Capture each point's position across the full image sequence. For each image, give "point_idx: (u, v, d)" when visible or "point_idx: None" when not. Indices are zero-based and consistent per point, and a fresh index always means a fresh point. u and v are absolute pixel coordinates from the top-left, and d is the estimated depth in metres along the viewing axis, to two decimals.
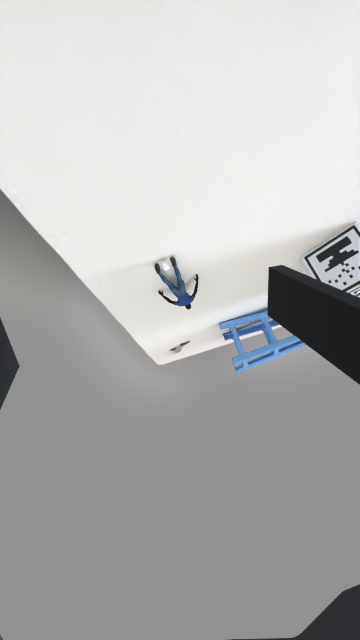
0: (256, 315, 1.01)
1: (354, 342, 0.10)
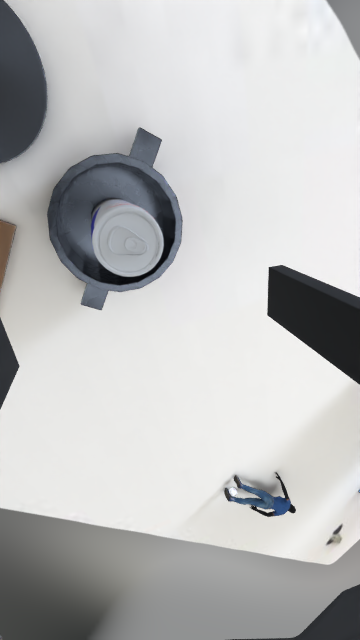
0: None
1: (354, 342, 0.10)
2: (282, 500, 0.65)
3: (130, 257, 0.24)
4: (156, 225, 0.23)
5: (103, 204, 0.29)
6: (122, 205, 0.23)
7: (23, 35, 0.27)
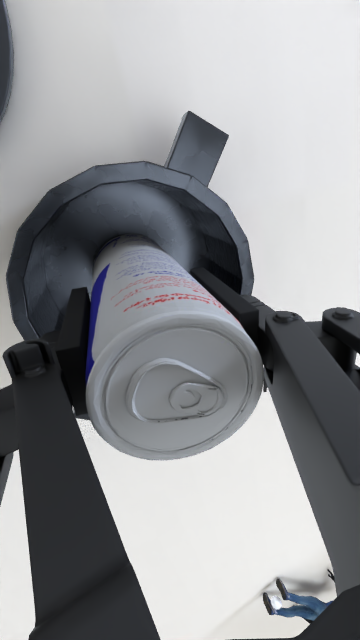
0: None
1: None
2: None
3: (183, 421, 0.09)
4: (253, 350, 0.09)
5: (115, 260, 0.15)
6: (168, 302, 0.08)
7: None
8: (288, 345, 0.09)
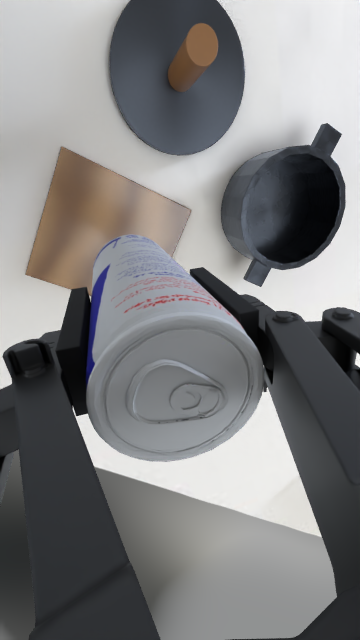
0: None
1: None
2: None
3: (183, 422, 0.09)
4: (253, 351, 0.09)
5: (115, 261, 0.15)
6: (168, 303, 0.08)
7: (236, 44, 0.31)
8: (288, 345, 0.09)
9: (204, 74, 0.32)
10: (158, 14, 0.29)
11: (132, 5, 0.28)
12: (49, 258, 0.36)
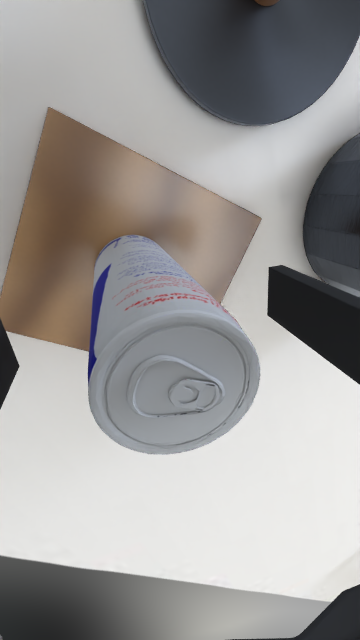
0: None
1: (354, 342, 0.10)
2: None
3: (182, 416, 0.10)
4: (249, 347, 0.09)
5: (116, 261, 0.15)
6: (167, 302, 0.09)
7: None
8: None
9: None
10: None
11: None
12: (31, 300, 0.21)
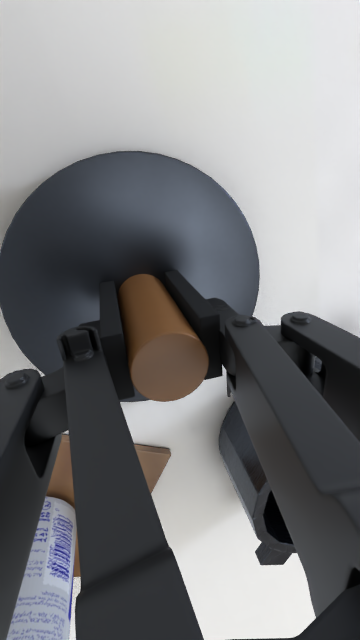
0: None
1: None
2: None
3: None
4: None
5: None
6: None
7: (245, 237, 0.17)
8: (248, 350, 0.09)
9: None
10: (91, 211, 0.14)
11: (34, 203, 0.14)
12: None
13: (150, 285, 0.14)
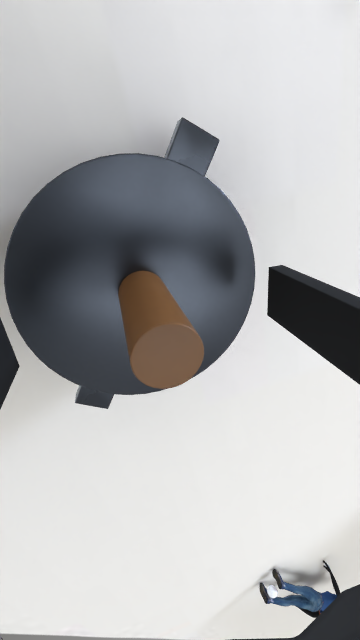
0: None
1: (354, 342, 0.10)
2: (332, 598, 0.51)
3: None
4: None
5: None
6: None
7: (240, 236, 0.18)
8: None
9: (184, 285, 0.18)
10: (93, 211, 0.15)
11: (39, 203, 0.15)
12: None
13: (149, 281, 0.15)
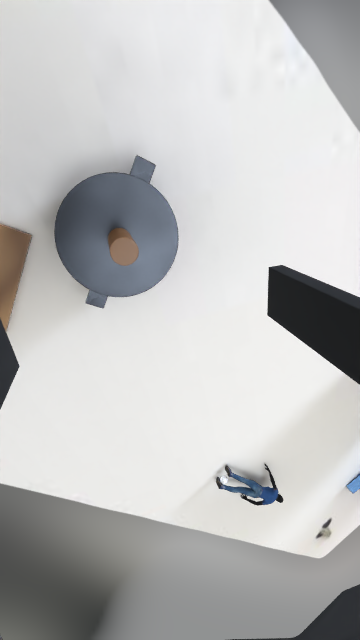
0: None
1: (354, 342, 0.10)
2: (270, 490, 0.69)
3: None
4: None
5: None
6: None
7: (168, 211, 0.36)
8: None
9: (141, 236, 0.36)
10: (95, 198, 0.33)
11: (72, 194, 0.33)
12: None
13: (121, 230, 0.33)
